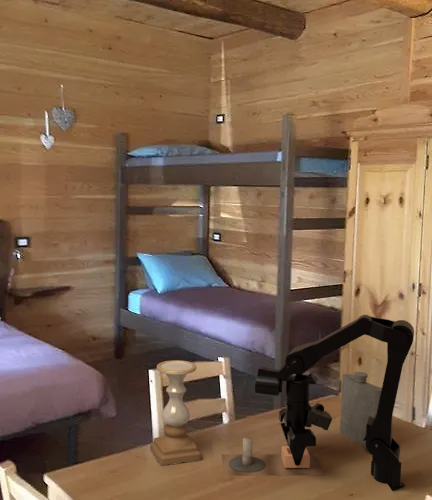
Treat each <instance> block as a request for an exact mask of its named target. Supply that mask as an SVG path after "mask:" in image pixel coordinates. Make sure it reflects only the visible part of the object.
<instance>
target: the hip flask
mask: <svg viewBox="0 0 432 500" xmlns="http://www.w3.org/2000/svg"><path fill="white" fill-rule="evenodd" d="M341 378H342V379H341V381H342V382H341V397H340V399H341V403H340V422H339V423H340V424H339V425H340V426H339V434H340V435H341V434H342V435H343V434H344V435H345V436H347V437H348V438H350V439H351V440H352V441H355V442H356V443H358V444H360V446H361V447H362V448H363V449H364V451H365V453H367V454H370V453H369V452H368V450H367V449H366V441H363V439H364V435H365V431H366V425H367V421H368V417H369V416H370V417H373V418H374V417H375V415H376V413H377V410H378V405H379V400H380V395H381V390H382V387H380V386H376V385H374V384H371V383H369V382H367V379H368V373H366V372H363V371H355V372H354V373H353V374H351V373H344V374H342V377H341Z"/></svg>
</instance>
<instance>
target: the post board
mask: <svg viewBox="0 0 432 500" xmlns="http://www.w3.org/2000/svg"><path fill="white" fill-rule="evenodd" d="M253 442H254V441H253V438H252V437H247V436H246V437H243V438H242V453H241V454H236V453H235V454H228V453H227V454H226V453H225V454H223V453H222V454H221V460H222V461H221V462H222V468H223V473H224V474H223V475H224V476H227V477H228V476H229V477H231V476H237V477H238V476H242V477H243V476H244V477H245V476H252V477H253V476H255V477H256V476H325V474H324V472H323V470H322V467H321V465H320V464H319V462H318V459H317V457H316V455H315V454H313V453H309V455H310V466H309V468H285V466H284V463H283V461H282V458H281V453H280V454H276V453H275V454H274V453H273V454H272V453H271V454H267V453H265V454H264V453H262V454H259V453H258V454H257V453H256V454H255V453H253V447H254V446H253V445H254V443H253Z"/></svg>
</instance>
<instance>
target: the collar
mask: <svg viewBox="0 0 432 500" xmlns="http://www.w3.org/2000/svg"><path fill="white" fill-rule="evenodd" d="M280 454H281V458H282V461H283V463H284V466H285V468H309V466H310V455H309V454H310V453H309V451H308V449H307V447H306V448H305V451H304V454H303V457H302V460H301V463H300V465H295V463H294V460H293V457H292V454H291V451H290V448H289V446H288V445H282V446H281V453H280Z"/></svg>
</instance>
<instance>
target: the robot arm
mask: <svg viewBox="0 0 432 500" xmlns="http://www.w3.org/2000/svg"><path fill="white" fill-rule="evenodd" d="M362 336H368V337H371V338H373V339H376V340H378V341H380V342H383V343H387V344H386V345H387V346H386V347H387V348H386V349H387V351H386V352H387V361H386V367H385V372H384V377H383V382H382V387H381V388H382V390H381V395H380V400H379V405H378V410H377V413H376V415H375V417H374V418H373V417H370V416H369V417H368V421H367V425H366V431H365V435H364V439H363V441H366V449H367V450H368V452H369V453H368V454H371V455H372V460H371V462H370V463H371V464H370V475H371V476H372V477H373V479H374V480H375V481H376V482H378V483H381V484H384V485H385V484H386V485H388V487H389V489H390V490H391V491H395V490H397V489H401V488H403V487H405V485H406V484H405V483H404V482H402V481H401V476H402V462H401V461H400V454H401V445H400V444H399V443H398V441H396V440H395V438H394V437H393V413H394V408H395V405H396V399H397V395H398V390H399V385H400V380H401V376H402V372H403V371H402V370H403V366H404V364H405V360H406V358H407V357H408V355H409V352H410V350H411V347H412V345H413V342H414V337H415V329H414V327H413V325H412V324H411V323H410V322H409V321H407V320H404V319H403V320H402V319H399V320H398V319H397V320H391V319H387V318H381V317H380V318H379V317H374V316H370V315H368V314H363V315H360V316H359V317H358V318H357V319H354V320H353V321H351V322H349V323H348V324H346V325H344V326H342V327H340V328H339V329H336V330H335V331H333V332H331V333H329V334H328V335H326V336H324V337H322V338H320V339H319V340H318V339H317V340H316V341H312V342H308V343H304V344H302V345H299V346H296V347H294V348H293V349H292V350H291V351H290V352H289V353H288V354H287V356H286V358H285V360H284V361H285V362H284V364H283V365H282V366H281V367H280V369H278V368H277V369H276V368H269V367H266V366H260V367H259V368H258V369H257V375H256V379H255V383H254V391H255V393H254V394H255V395H259V396H267V397H268V396H269V397H275V398H278V397H280V396H281V394H284V393H285V399H284V400H283V401H284V402H283V404H284V407H282V408H281V409H280V410H279V411H278V421H279V422H280V427H281V430H282V433H283V435H284V437H285V438H284V439H285V442H286V444H287V446H289V448H290V451H291V454H292V457H293V460H294V463H295V465H300V463H301V460H302V457H303V454H304V451H305V448H306V449H307V447H315V446H317V437H316V434H315V433H314V431H312V429H310V428H312V426H315V427H318V428H319V429H320V428H321V429H322V430H324V431H329V428H330V426H331V423H332V420H333V416H331V414H330V413H329V412H328V411H327V410H325V406H324V405H323V404H322V403H319V402H317V403H315V404H314V405H313V406H311V405H310V390H311V389H310V388H311V385H315V386H316V385H317V383H318V382H319V381H318V380H319V378H318V377H317V376H316V375H315V374H314V373H313V371H310V373H308V374H305V373H306V372H307V371H308V370H310V369H311V368H312V367H314V366H315V365H316V364H317V363H318V362H319V361H320V360H322V359H323V358H324V357H326V356H327V355H329V354H331V353H333V352H334V351H336V350H338V349H340V348H342V347H344V346H345V345H348V344H349V343H351V342H353V341H355V340H357V339H359V338H360V337H362Z"/></svg>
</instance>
